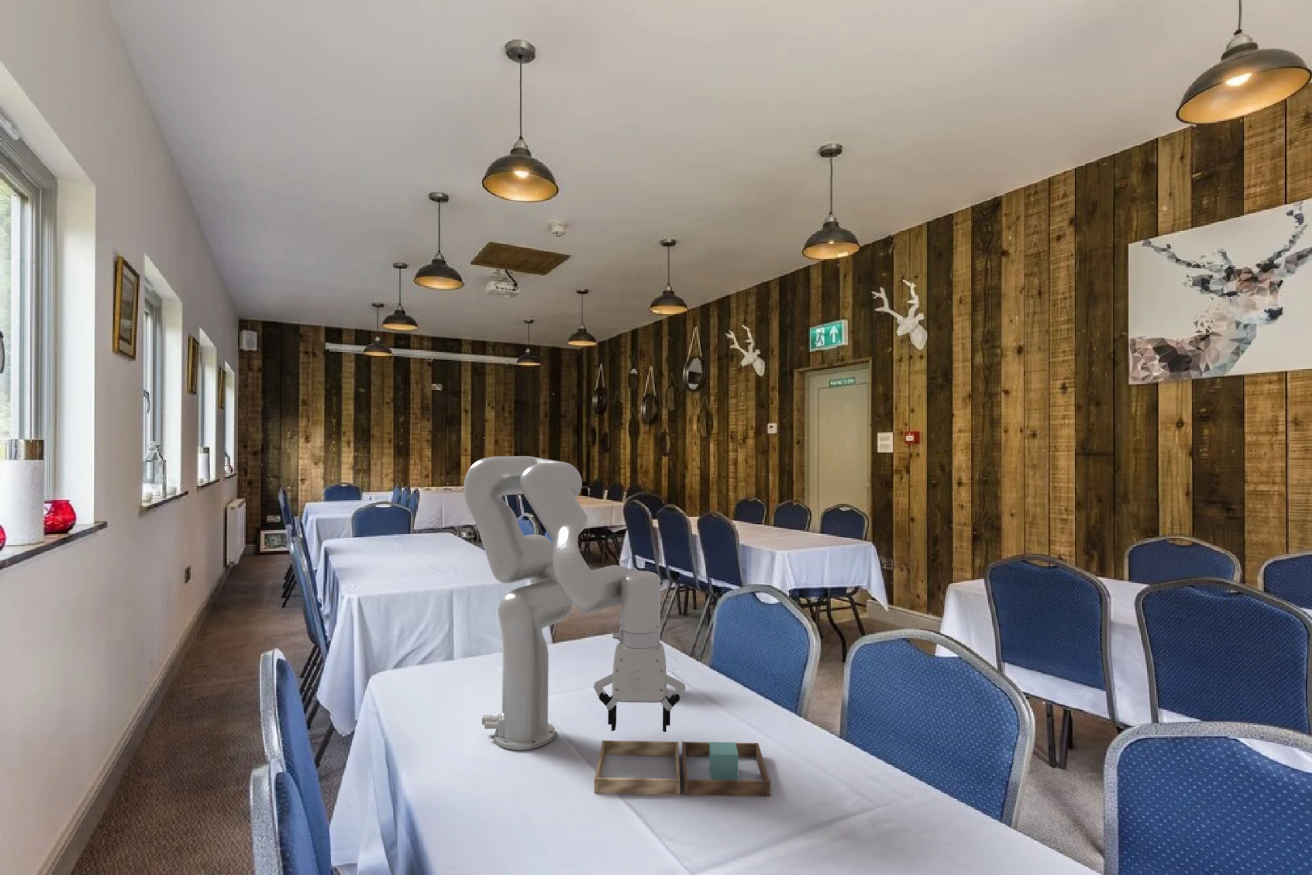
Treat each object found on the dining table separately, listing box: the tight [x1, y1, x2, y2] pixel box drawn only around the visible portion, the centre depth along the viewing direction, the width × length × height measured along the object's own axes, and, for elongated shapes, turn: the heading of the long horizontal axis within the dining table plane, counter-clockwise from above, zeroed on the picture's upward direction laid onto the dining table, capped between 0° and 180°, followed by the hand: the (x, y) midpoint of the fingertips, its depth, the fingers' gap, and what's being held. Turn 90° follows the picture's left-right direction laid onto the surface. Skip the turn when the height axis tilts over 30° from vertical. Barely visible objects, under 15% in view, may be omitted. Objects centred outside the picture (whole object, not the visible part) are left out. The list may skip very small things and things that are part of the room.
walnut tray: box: [681, 741, 771, 797], centre depth 124 cm, size 15×15×2 cm
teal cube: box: [708, 741, 739, 780], centre depth 124 cm, size 5×5×5 cm
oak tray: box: [593, 739, 681, 796], centre depth 125 cm, size 15×15×2 cm
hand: (639, 728), depth 125 cm, fingers open, 9 cm apart
